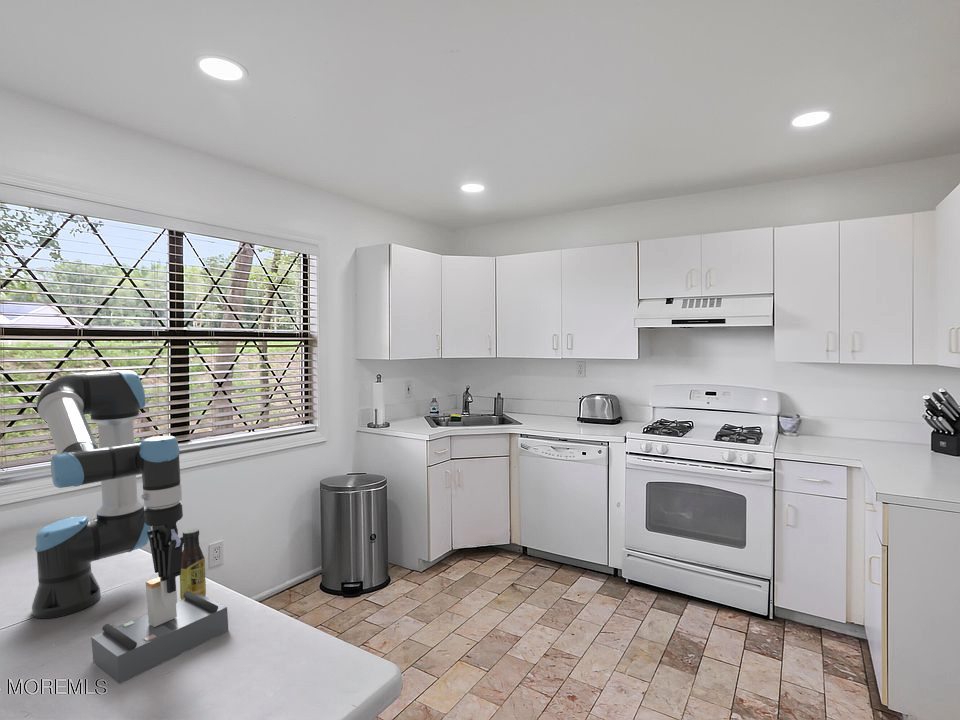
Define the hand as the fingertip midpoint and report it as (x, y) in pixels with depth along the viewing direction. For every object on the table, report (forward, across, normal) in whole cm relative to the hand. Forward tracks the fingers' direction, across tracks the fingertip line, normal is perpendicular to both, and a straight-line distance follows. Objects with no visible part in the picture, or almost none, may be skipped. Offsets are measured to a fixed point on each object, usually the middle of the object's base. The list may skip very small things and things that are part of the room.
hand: (169, 604), depth 123 cm
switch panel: (+11, -4, 0) cm, 12 cm away
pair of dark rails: (+5, -4, 0) cm, 7 cm away
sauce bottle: (+12, -20, +15) cm, 28 cm away
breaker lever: (+5, -4, 0) cm, 7 cm away
